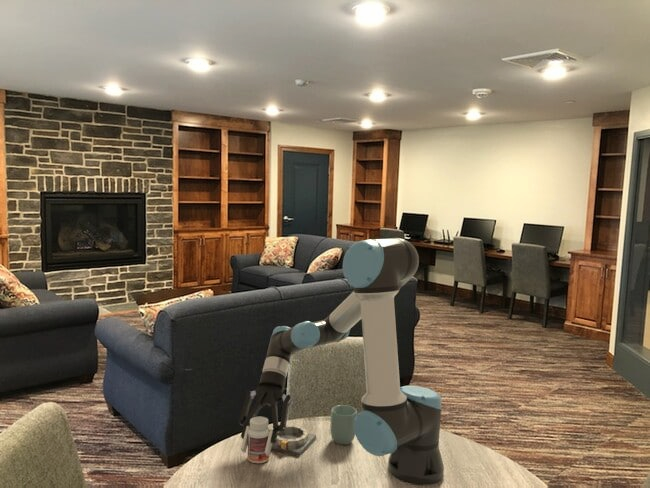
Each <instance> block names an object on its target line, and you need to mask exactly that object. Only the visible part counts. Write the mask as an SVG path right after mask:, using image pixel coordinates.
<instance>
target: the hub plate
mask: <svg viewBox="0 0 650 488" xmlns="http://www.w3.org/2000/svg"><path fill="white" fill-rule="evenodd" d="M315 440H317V435H316V434H314V433H313V434H312V433H310V432H309V433H308V430H307V429H305V428H304V427H302V426H299V425H295V424H288V425H287V424H286V429H285V431H279V432H278V435H277V439H276V443H272V446H271V450H272V451H275V452H280V453H283V454H289V455H292V456H297V457H301V456H302V454H303V453H304V452H306V451H307V449H308V448H309V447H310V446H311V445H312V443H314V441H315ZM271 450H270V451H271Z"/></svg>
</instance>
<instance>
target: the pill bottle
mask: <svg viewBox="0 0 650 488" xmlns="http://www.w3.org/2000/svg"><path fill="white" fill-rule="evenodd" d="M269 432H270V428H269V419H268V417H265V416H256V417H253V418H251V419H250V429H249V430H248V445H247V460H248V461H249V462H251V463H253V464H263V463H265V462H268V461H269V459H270V455H269V456H266V454H265V448H266V444H267V440H268V436H269Z"/></svg>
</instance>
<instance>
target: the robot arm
mask: <svg viewBox="0 0 650 488" xmlns="http://www.w3.org/2000/svg"><path fill="white" fill-rule="evenodd" d="M419 263H420V260H419V253H418V251H417V249H416V247H415V246H414V245H413V244H412V243H411V242H409V241H408V240H406V239H404V238H400V237H390V238H375V239H374V238H371V239H370V238H369V239H365V240H358V241H357V242H355V243H353V244H351V245H350V247H349V248H348V249H347V250H346V252H345V254H344V256H343V260H342V273H343V276H344V279H346V282H347V283H348V285H350V286H352V287H353V291H352V292H351V293H350V294H349V295H348V296H347V297H346V298H345V299H344V300H343V301H342V302H341V303H340V304H339V305H338V306H337V307H336V308H335V309H334V310H333V311H332V312H331V313H330V314H329V315H328V316H327V317H326V318H324V319H322V320H317V321H313V322H312V321H309V320H305V321H303V322H299V323H297V324H295V325H294V326H292V327H289V326H286V325H282V326H276V327H275V328H274V329H273V331H272V334H271V336H270V339H269V343H268V349H267V352H266V356H265V357H266V358H264V359H265V360H264V362H263V363H264V364H263V366H262V367H263V368H262V373H261V376H260V379H259V383H258V387H257V388H256V389H255V390H252V391H251V390H248V389H247V390H246V395H245V396H246V397H245V400H244V403H243V406H242V409H241V412H240V414H239V417H238V420H237V421H238V423H239V425H240V426H242V431H241V434H240V438H241V439H242V443H241V447H240V451H241V452H242V453H246V452H247V450H248V430H249V429H250V419H251V418H253V417H258V414H259V412H260V411H261V410H262V409H263V408H264V407H266V406H268V407H270V409H271V416H272V417H271V418H272V428H269V430H270V432H269V436H268V440H267V444H266V448H265V454H266V456H269V457H270V455H271V454H270V453H271V446H272V443H276V439H277V435H278V432H279V431H285V429H286V425H287V422H288V421H287V420H288V416H289V415H288V414H289V407H290V406H291V403H292V397H291V395H290V394H287V395H286V394H285V393H284V389H285V384H286V380H287V376H288V371H289V367H290V363H291V359H292V356H293V355H295V354H298V353H300V352H302V351H304V350H308V349H312V348H317V347H320V346H325V345H329V344H334V343H339V342H341V341H344V340H346V339H347V338H348V337H349V335H350V331H351V328H353V327H354V326H355V325H356V324H357V323H359V321H361V328H362V329H361V330H362V343H363V358H364V359H363V360H364V372H365V387H366V388H365V389H366V392H365V394H364V395H363V396H362V397H361V399H360V400H361V402H360V403H361V411H359V412H357V416H356V417H355V419H354V431H355V438H356V439H357V441H358V443H359V444H360V445H361V446H362V448H363V450H365V451H366V452H367V453H368V454H370V455H373V456H376V457H383V456H387V455H389V454H390V455H389V457H388V464H387V469H388V472H389V474H390V475H392V477H393V478H395V479H397V480H398V481H401V482H403V483H406V484H410V485H415V486H428V485H434V484H436V483H438V482H440V481H442V479H443V477H444V471H445V465H444V461H443V458H442V453H441V451H440V450H441V449H440V446H439V445H440V444H439V443H440V433H441V432H440V431H441V416H442V409H443V408H442V397H441V396H440V394H439V393H438V392H437V391H435V390H432V389H431V388H427V387H423V386H418V385H403V386H401V382H400V381H401V380H400V369H399V368H400V367H399V355H398V353H399V352H398V340H397V327H396V326H397V324H396V311H395V310H396V309H395V296H396V295H397V294H398V293H399V292H400V289H401V288H402V287H403V286H404V285H406V283H408V282H409V281H410V280H411V279H412V278H413V277H414V276H415V275H416V272H417V271H418V268H419ZM255 397H256V398H257V400H256V401H255V403H254V405H253V407H252V409H251V406H252V402H253V400H254V398H255ZM281 400H282V402H283V403H282V407H281V408H282V409H281V417H280V423H279V415H278V403H279V402H280V401H281ZM250 409H251V411H250ZM249 411H250V412H249Z"/></svg>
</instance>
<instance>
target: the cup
mask: <svg viewBox="0 0 650 488" xmlns="http://www.w3.org/2000/svg"><path fill="white" fill-rule="evenodd" d="M357 414H358V410H357V408H355V407H353V406H351V405H346V404H338V405H335V406H332V407H331V411H330V435H331V439H332V440H333V442H335V444H338V445H344V446H345V445H348V444H350V443H353V441H354V439H355V438H356V435H355V431H354V419H355V417H356V416H357Z"/></svg>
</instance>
